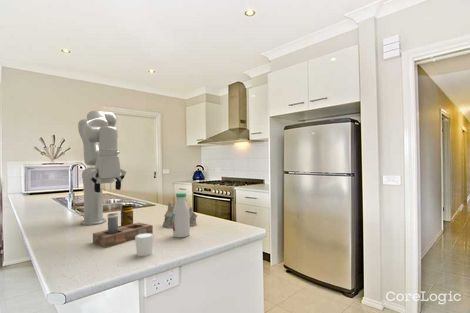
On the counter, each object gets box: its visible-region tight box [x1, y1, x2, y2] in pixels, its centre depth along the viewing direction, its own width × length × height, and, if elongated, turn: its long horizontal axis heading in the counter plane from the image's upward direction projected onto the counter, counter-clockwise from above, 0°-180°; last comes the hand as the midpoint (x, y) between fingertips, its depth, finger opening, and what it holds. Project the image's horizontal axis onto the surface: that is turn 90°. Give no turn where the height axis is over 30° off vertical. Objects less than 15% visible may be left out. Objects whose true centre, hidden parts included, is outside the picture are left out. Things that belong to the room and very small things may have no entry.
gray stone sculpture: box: [162, 201, 198, 229], centre depth 141 cm, size 16×16×15 cm
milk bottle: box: [172, 192, 191, 238], centre depth 121 cm, size 8×8×20 cm
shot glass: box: [134, 233, 155, 257], centre depth 99 cm, size 7×7×7 cm
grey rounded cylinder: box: [107, 212, 119, 235], centre depth 114 cm, size 4×4×12 cm
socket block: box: [92, 222, 154, 248], centre depth 118 cm, size 11×23×4 cm, turn 146°
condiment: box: [118, 203, 134, 227], centre depth 137 cm, size 7×8×12 cm
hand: (108, 190), depth 118 cm, fingers open, 9 cm apart
